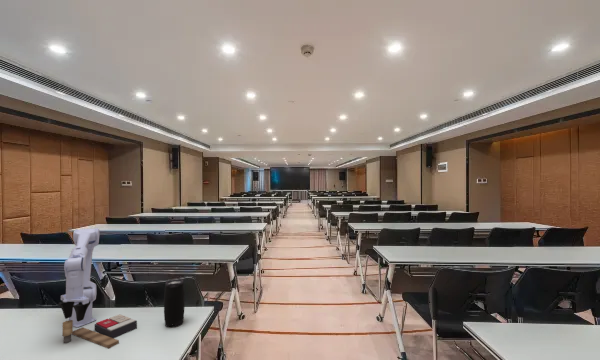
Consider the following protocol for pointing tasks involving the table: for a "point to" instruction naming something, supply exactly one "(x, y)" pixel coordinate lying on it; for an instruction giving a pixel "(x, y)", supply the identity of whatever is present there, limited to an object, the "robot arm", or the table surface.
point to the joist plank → (96, 337)
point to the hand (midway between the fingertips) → (74, 319)
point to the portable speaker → (174, 302)
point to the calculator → (115, 326)
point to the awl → (67, 330)
